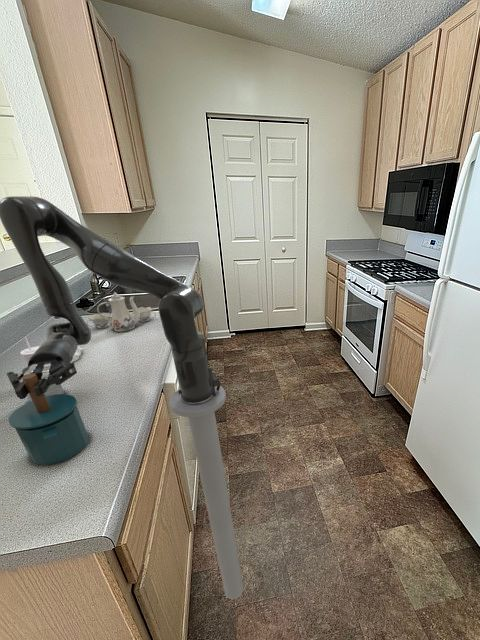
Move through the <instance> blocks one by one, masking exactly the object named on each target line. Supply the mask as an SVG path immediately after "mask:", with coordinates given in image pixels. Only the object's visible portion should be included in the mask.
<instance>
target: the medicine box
mask: <svg viewBox="0 0 480 640" xmlns="http://www.w3.org/2000/svg"><path fill="white" fill-rule="evenodd" d="M44 394H45V396H50V395H56V394H65V390H64V388H63V386H62V384H60V385H56V384H52V386H51V387H49V388H48V390H47V391H46V392H45V393H44ZM26 398H27V400H28V402H31V401H32V399H31V397H30V395H29V393H28V395H27V396H26Z"/></svg>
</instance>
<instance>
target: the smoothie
mask: <svg viewBox="0 0 480 640" xmlns="http://www.w3.org/2000/svg"><path fill="white" fill-rule="evenodd" d="M24 341H25V344H26V345H27V347H26V348H25V349H22V350H21V351H20V357H22V358H23V359H24V361H25V362H26V364H27V365H28V363H29V360H30V358H31V357H32V355H33V354H34V353H35V352H36V351H37V349H38V348H39V347H40V346H41V345H37V346H32V347H31V344H30V342H29V341H28V337H27V336H25V337H24Z"/></svg>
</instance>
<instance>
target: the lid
mask: <svg viewBox="0 0 480 640" xmlns="http://www.w3.org/2000/svg"><path fill="white" fill-rule="evenodd" d="M22 379H23V381H24V384H25V386H26V388H27V390H28V392H29V395H30V397H31V399H32V401H31V402H30V401H28V402H26V403H24V404H23V405H21V406H20V407H17V408H16V409H15V410H14V411H12V413H11V414H10V415H9V417H8V423H9V426H11V427H12V428H14V429H15V428H17V429H31V428H37V427H41V426H45V425H48V424H51V423H53V422H56V421H58V420H60V419H62V418H63V417H65V416H67V415H68V414H69V413H71V412H72V411H73V410H74V409H75V407H76V406H78V400H77V398H76V397H75V396H74V395H71V394H67V393H64V394H56V395H50V396H45V394H44V393H43V395H42V396H37V395H36V392H35V390H34V387H35V385H36V384H37V382H38V381H39V380H38V378H37V375H36V374H35V373H31V374H27V375H25V376H23V377H22Z"/></svg>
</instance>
